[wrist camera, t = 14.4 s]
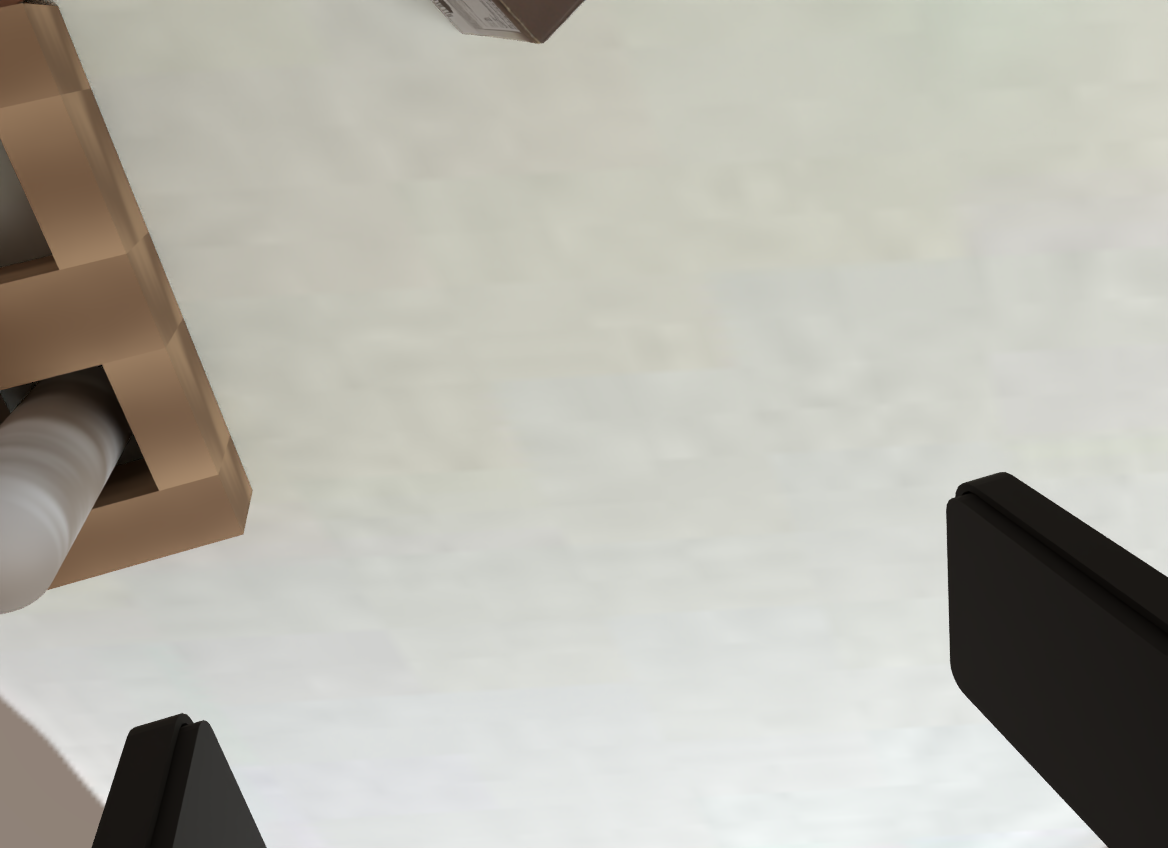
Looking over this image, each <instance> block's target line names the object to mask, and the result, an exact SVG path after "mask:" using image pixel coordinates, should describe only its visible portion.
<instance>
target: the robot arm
mask: <svg viewBox="0 0 1168 848" xmlns="http://www.w3.org/2000/svg"><path fill="white" fill-rule="evenodd" d="M946 519H947V557H948V596H949V634H950V664H951V670H952V673H953V676H954V679H955V681H956V683H957V685H958V686H959V688H960V689H961V691H962V692H963V693H964V694H965V695H966V697H967V698H968V699H969V700H970V701H971V702H972V703H973V704H974V705H975V706H976V707H977V708H978V709H979V710H980V711H981V713H982V714H983V715H984V716H985V717H986V718H987V719H988V720H989V721H990V722H991V723H992V724H993V725H994V726H995V727H996V728H997V730H998V731H999V732H1000V733H1001V734H1002V735H1003V736H1004V737H1005V738H1006V739H1007V740H1008V741H1009V742H1010V743H1011V744H1012V746H1013V747H1014V748H1015V749H1016V750H1017V751H1018V752H1019V753H1020V754H1021V755H1022V756H1023V757H1024V758H1025V759H1026V760H1027V761H1028V763H1029V764H1030V765H1031V766H1032V767H1033V768H1034V769H1035V770H1036V771H1037V772H1038V773H1039V774H1040V775H1041V776H1042V777H1043V778H1044V780H1045V781H1046V782H1047V783H1048V784H1049V785H1050V786H1051V787H1052V788H1053V789H1054V790H1055V791H1056V792H1057V793H1058V794H1059V796H1060V797H1061V798H1062V799H1063V800H1064V801H1065V802H1066V803H1067V804H1068V805H1069V806H1070V807H1071V808H1072V809H1073V810H1074V811H1075V813H1076V814H1077V815H1078V816H1079V817H1080V818H1081V819H1082V820H1083V821H1084V822H1085V823H1086V824H1087V825H1088V826H1089V827H1090V828H1091V830H1092V831H1093V832H1094V833H1095V834H1096V835H1097V836H1098V837H1099V838H1100V839H1101V840H1102V841H1103V842H1104V843H1105V844H1106V846H1107V847H1108V848H1168V577H1167V576H1165V575H1163V574H1162V573H1160V572H1159V571H1157V570H1156V569H1154V568H1153V567H1151V566H1150V565H1148V564H1147V563H1145V562H1144V561H1142V560H1141V559H1139V558H1138V557H1136V556H1135V555H1133V554H1131V553H1130V552H1128V551H1127V550H1125V549H1124V548H1122V547H1121V546H1119V545H1118V544H1116V543H1115V542H1113V541H1112V540H1110V539H1109V538H1107V537H1106V536H1104V535H1103V534H1101V533H1099V532H1098V531H1096V530H1095V529H1093V528H1092V527H1090V526H1089V525H1087V524H1086V523H1084V522H1083V521H1081V520H1080V519H1078V518H1077V517H1075V516H1074V515H1072V514H1071V513H1069V512H1067V511H1066V510H1064V509H1063V508H1061V507H1060V506H1058V505H1057V504H1055V503H1054V502H1052V501H1051V500H1049V499H1048V498H1046V497H1045V496H1043V495H1042V494H1040V493H1039V492H1037V491H1036V490H1034V489H1032V488H1031V487H1029V486H1028V485H1026V484H1025V483H1023V482H1022V481H1020V480H1019V479H1017V478H1016V477H1014V476H1013V475H1011V474H1008V473H1006V472H1000V473H996V474H993V475H989V476H986V477H983V478H979V479H976V480H972V481H969V482H966V483H962V484H961V485H960V486H958V489H957V491H956V496H955V498H952V499H950V500H949V501H948V503H947V509H946ZM92 848H266V845H265V843H264V841H263V839H262V837H261V834H260V832H259V830H258V828H257V826H256V824H255V821H254V819H253V817H252V815H251V813H250V810H249V808H248V806H247V804H246V802H245V799H244V797H243V795H242V793H241V791H240V789H239V786H238V784H237V782H236V780H235V778H234V775H233V773H232V771H231V769H230V767H229V764H228V762H227V760H226V758H225V756H224V753H223V751H222V749H221V747H220V745H219V743H218V740H217V738H216V736H215V734H214V732H213V729H212V728H211V726H210V724H209V723H208V722H207V721H204V720H203V721H199V722H196V723H193V722H192V720H191V718H190V717H189V716H188V715H187V714H183V713H182V714H178V715H175V716H171V717H168V718H165V719H161V720H158V721H154V722H151V723H148V724H144V725H141V726H137V727H134V728H133V729H131V730H130V732H129V734H128V736H127V739H126V742H125V745H124V748H123V751H122V754H121V757H120V761H119V764H118V767H117V770H116V773H115V776H114V779H113V783H112V786H111V789H110V792H109V795H108V798H107V801H106V804H105V808H104V811H103V814H102V817H101V820H100V823H99V826H98V829H97V833H96V836H95V839H94V842H93V845H92Z"/></svg>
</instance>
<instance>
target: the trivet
mask: <svg viewBox="0 0 1168 848" xmlns="http://www.w3.org/2000/svg"><path fill="white" fill-rule="evenodd" d="M24 1H26V0H0V8H1V7H5V6H10V5H15V4H20V3H23V2H24Z"/></svg>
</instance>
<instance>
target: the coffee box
mask: <svg viewBox="0 0 1168 848" xmlns="http://www.w3.org/2000/svg"><path fill="white" fill-rule="evenodd" d="M431 1H432V2H433V3H434V4H435V5H436V6H437V7H438V8H439V9H440V10H441V11H442V12H443V14H444V15H445V16H446V17H447V18H448V19H449V20H450V21H451V22H452V23H453V24H454V26H455V27H456V28H457V29H458V30H459V31H460V32H461V33H462V34H466V35H467V34H471V35H479V36H489V37H495V38H503V39H510V40H517V41H524V42H531V43H536V44H540V43H544V42H545V41H546V40H548V39H549V38H550V37H551V36H552V35H553V34H554V33H555V32H556V31H557V30H558V29H559V28H560V27H561V26H562V24H563V23H564V22H565V21H566V20H567V19H568V18H569V17H570V16H571V15H572V14H573V13H574V12H575V11H576V10H577V9H578V8H579V7H580V6H581V5H582V4H583V2H584V1H585V0H431Z"/></svg>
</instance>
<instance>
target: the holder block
mask: <svg viewBox="0 0 1168 848" xmlns="http://www.w3.org/2000/svg"><path fill="white" fill-rule="evenodd" d="M0 139H1V141H2V144H3V146H4V148H5V150H6V152H7V155H8V157H9V159H10V161H11V164H12V166H13V168H14V170H15V172H16V175H17V177H18V179H19V181H20V184H21V186H22V188H23V190H24V192H25V195H26V197H27V199H28V201H29V204H30V206H31V208H32V210H33V212H34V215H35V217H36V219H37V221H38V223H39V226H40V228H41V230H42V232H43V235H44V237H45V239H46V241H47V243H48V246H49V248H50V250H51V252H52V255H50V256H46V257H42V258H38V259H34V260H30V261H25V262H21V263H17V264H13V265H9V266H5V267H0V390H4V389H8V388H11V387H15V386H19V385H23V384H27V383H31V382H35V381H39V380H40V381H39V382H38V383H37V385H36V386H35V387H34V388H33V389H32V390H31V391H30V392H29V394H28V395H27V396H26V397H25V398H24V399H23V400H22V401H21V403H20V404H19V405H18V406H17V407H16V408H15V409H14V410H13V412H12V413H11V414H10V412H9V410H8V408H7V406H6V404H5V402H4V400H3V398H2V396H1V394H0V614H4V613H8V612H13V611H16V610H19V609H21V608H24V607H26V606H28V605H30V604H31V603H33V602H34V601H36V600H37V599H38V598H39V597H41V596H42V595H43V594H44V593H45V592H46V590H49V589H53V588H56V587H60V586H63V585H67V584H70V583H74V582H77V581H81V580H84V579H88V578H91V577H95V576H98V575H102V574H105V573H109V572H112V571H116V570H119V569H123V568H126V567H130V566H133V565H137V564H141V563H144V562H148V561H151V560H155V559H158V558H162V557H165V556H169V555H172V554H176V553H179V552H183V551H186V550H190V549H193V548H197V547H200V546H204V545H207V544H211V543H214V542H218V541H221V540H225V539H228V538H232V537H235V536H239V535H242V534H243V533H244V528H245V524H246V519H247V514H248V510H249V505H250V500H251V495H252V488H251V486H250V483H249V481H248V478H247V476H246V473H245V471H244V468H243V466H242V463H241V461H240V458H239V456H238V453H237V451H236V448H235V446H234V443H233V441H232V438H231V436H230V434H229V431H228V429H227V426H226V424H225V421H224V419H223V416H222V414H221V411H220V409H219V406H218V404H217V401H216V399H215V396H214V394H213V391H212V389H211V386H210V384H209V381H208V379H207V376H206V374H205V371H204V369H203V366H202V364H201V361H200V359H199V356H198V354H197V351H196V349H195V346H194V344H193V341H192V339H191V336H190V334H189V331H188V329H187V326H186V324H185V321H184V319H183V317H182V314H181V312H180V309H179V307H178V304H177V302H176V299H175V297H174V294H173V292H172V289H171V287H170V284H169V282H168V279H167V277H166V274H165V272H164V269H163V267H162V264H161V262H160V259H159V257H158V254H157V252H156V249H155V247H154V244H153V242H152V239H151V237H150V234H149V232H148V229H147V227H146V224H145V222H144V219H143V217H142V214H141V212H140V209H139V207H138V204H137V202H136V200H135V197H134V195H133V192H132V190H131V187H130V185H129V182H128V180H127V177H126V175H125V172H124V170H123V167H122V165H121V162H120V160H119V157H118V155H117V152H116V150H115V147H114V145H113V142H112V140H111V137H110V135H109V132H108V130H107V127H106V125H105V122H104V120H103V117H102V115H101V112H100V110H99V107H98V105H97V102H96V100H95V97H94V95H93V92H92V90H91V87H90V85H89V83H88V80H87V78H86V75H85V73H84V70H83V68H82V65H81V63H80V60H79V58H78V55H77V53H76V50H75V48H74V45H73V43H72V40H71V38H70V35H69V33H68V30H67V28H66V25H65V23H64V20H63V18H62V15H61V13H60V10H59V8H58V6H50V5H39V4H27V3H20V4H15V5H10V6H5V7H1V8H0ZM101 364H102V365H103V368H104V369H102V368H100V367H96V366H97V365H101ZM132 434H134V436H135V439H136V441H137V443H138V445H139V447H140V450H141V452H142V454H143V456H144V459H140V460H136V461H132V462H129V463H125V464H121V465H118V466H115V465H116V463H117V461H118V459H119V458H120V456H121V454H122V452H123V450H124V448H125V447H126V445H127V443H128V441H129V439H130V437H131V435H132Z"/></svg>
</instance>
